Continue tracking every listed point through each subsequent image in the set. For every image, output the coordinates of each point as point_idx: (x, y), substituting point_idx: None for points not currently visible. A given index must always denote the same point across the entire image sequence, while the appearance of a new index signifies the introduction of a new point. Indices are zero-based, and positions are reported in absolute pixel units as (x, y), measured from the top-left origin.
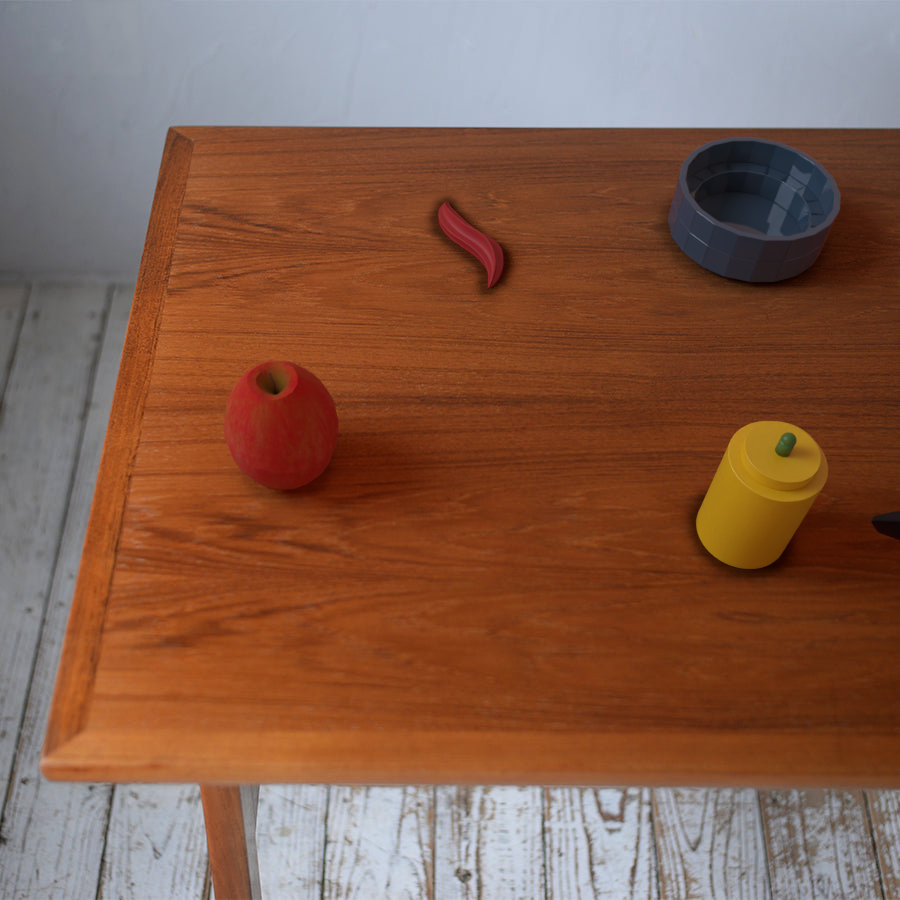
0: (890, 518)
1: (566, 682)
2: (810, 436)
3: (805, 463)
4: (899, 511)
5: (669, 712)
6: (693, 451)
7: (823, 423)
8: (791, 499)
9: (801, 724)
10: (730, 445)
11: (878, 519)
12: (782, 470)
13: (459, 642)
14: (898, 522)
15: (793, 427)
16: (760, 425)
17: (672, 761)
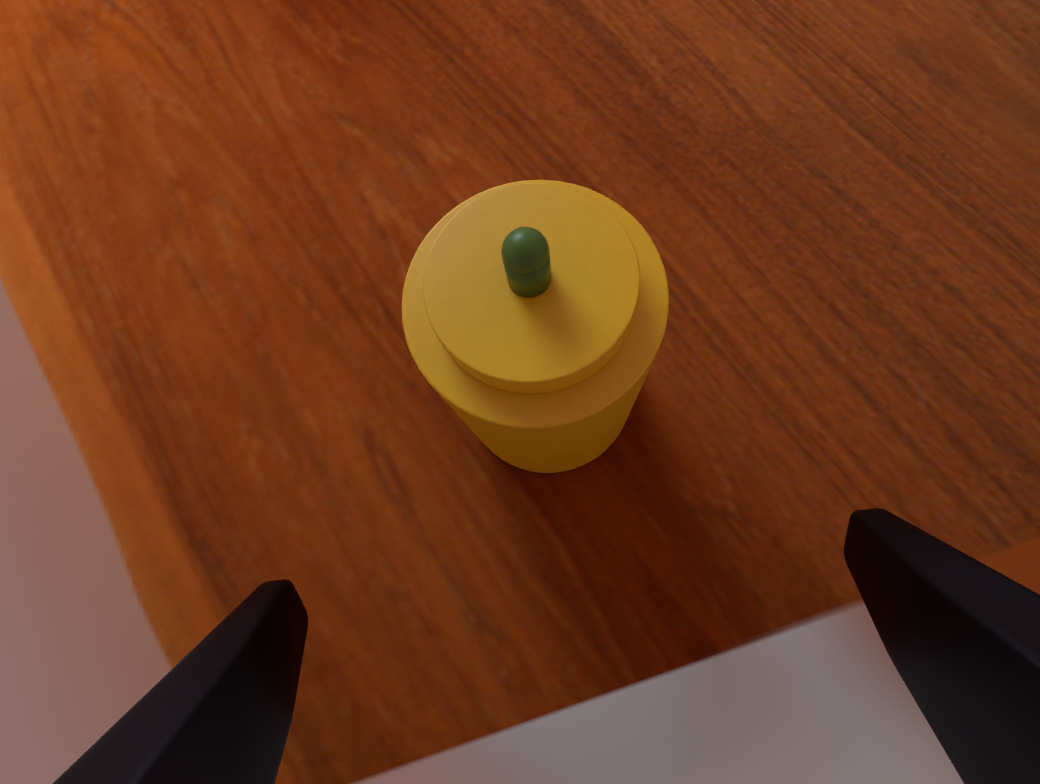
0: (205, 643)
1: (150, 300)
2: (630, 317)
3: (527, 344)
4: (222, 667)
5: (172, 445)
6: None
7: (902, 416)
8: (431, 375)
9: None
10: (502, 187)
11: (248, 601)
12: (465, 304)
13: (143, 159)
14: (159, 684)
15: (629, 266)
16: (575, 195)
17: (102, 484)
